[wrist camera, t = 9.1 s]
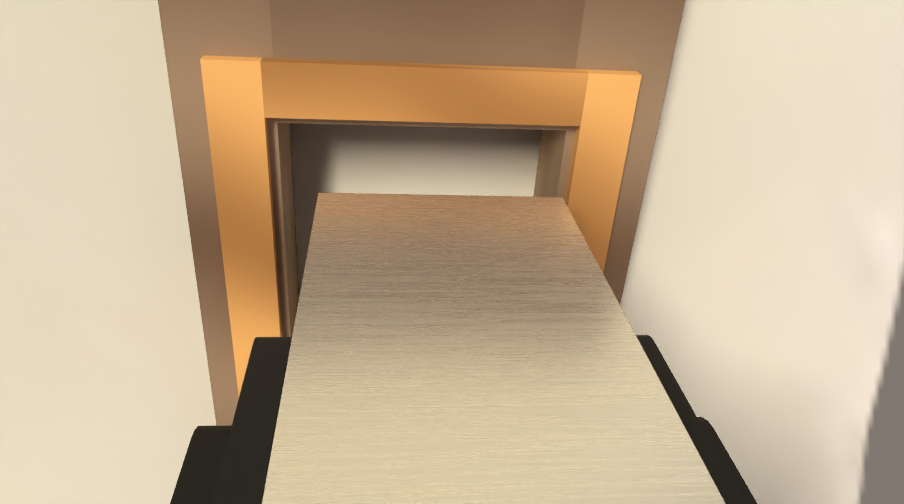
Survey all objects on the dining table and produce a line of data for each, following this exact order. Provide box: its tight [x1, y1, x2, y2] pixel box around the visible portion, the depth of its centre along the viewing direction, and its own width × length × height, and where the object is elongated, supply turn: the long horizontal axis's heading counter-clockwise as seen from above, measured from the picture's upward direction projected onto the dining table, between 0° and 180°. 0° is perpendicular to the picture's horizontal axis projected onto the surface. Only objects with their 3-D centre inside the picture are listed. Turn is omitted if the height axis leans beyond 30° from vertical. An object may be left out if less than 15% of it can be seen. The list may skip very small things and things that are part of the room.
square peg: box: [262, 193, 725, 504], centre depth 9 cm, size 4×4×10 cm
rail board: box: [158, 0, 685, 426], centre depth 20 cm, size 32×10×2 cm, turn 176°
